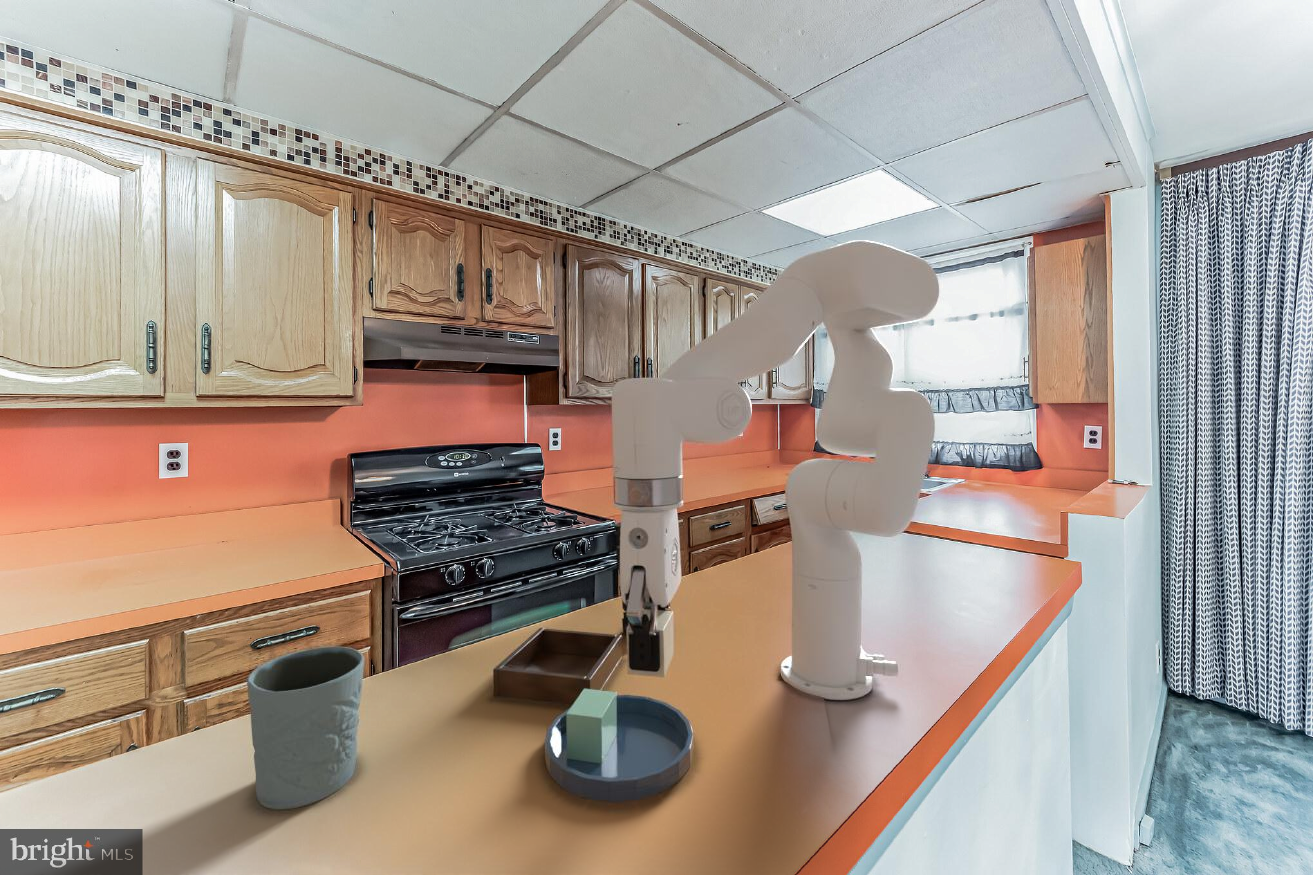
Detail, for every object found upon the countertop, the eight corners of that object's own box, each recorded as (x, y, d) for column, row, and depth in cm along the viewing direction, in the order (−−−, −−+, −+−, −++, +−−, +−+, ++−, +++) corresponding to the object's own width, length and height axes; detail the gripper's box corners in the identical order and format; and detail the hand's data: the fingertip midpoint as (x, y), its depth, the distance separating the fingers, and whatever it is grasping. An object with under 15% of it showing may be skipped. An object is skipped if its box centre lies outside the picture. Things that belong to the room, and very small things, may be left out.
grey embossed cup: (288, 752, 60) (286, 646, 60) (382, 747, 61) (380, 643, 60) (223, 819, 50) (220, 692, 49) (337, 813, 51) (334, 688, 50)
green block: (616, 733, 63) (616, 691, 62) (601, 763, 57) (601, 717, 57) (584, 729, 63) (584, 688, 63) (566, 758, 58) (566, 713, 58)
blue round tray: (701, 722, 66) (701, 702, 66) (679, 818, 50) (679, 791, 50) (577, 707, 69) (577, 688, 69) (519, 792, 53) (518, 768, 53)
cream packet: (674, 653, 61) (673, 610, 61) (664, 677, 56) (663, 630, 56) (640, 651, 62) (639, 608, 62) (627, 674, 57) (626, 627, 56)
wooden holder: (621, 661, 83) (621, 634, 83) (590, 711, 68) (590, 679, 68) (540, 652, 86) (539, 627, 86) (493, 699, 71) (492, 669, 71)
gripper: (666, 506, 49) (670, 700, 50) (694, 482, 66) (696, 627, 67) (588, 505, 51) (593, 692, 51) (634, 482, 67) (637, 623, 68)
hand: (651, 654), depth 59 cm, fingers closed on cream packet, 5 cm apart
